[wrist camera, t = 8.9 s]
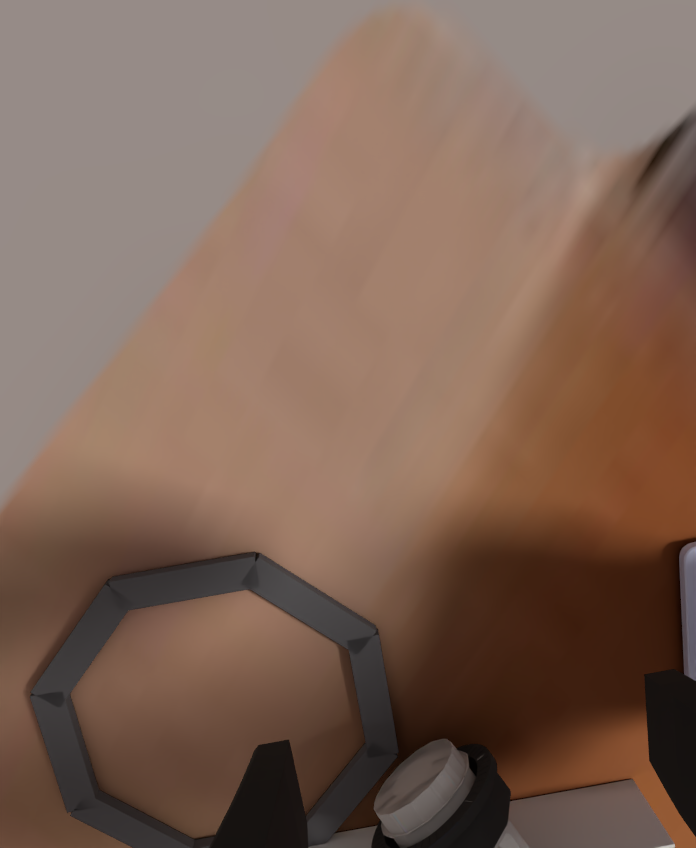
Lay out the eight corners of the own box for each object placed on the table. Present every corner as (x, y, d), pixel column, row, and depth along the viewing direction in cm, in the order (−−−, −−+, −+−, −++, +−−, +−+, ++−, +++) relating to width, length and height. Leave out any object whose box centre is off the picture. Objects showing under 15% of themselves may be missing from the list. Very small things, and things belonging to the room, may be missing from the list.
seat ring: (361, 533, 22) (362, 537, 22) (411, 825, 25) (412, 833, 25) (4, 595, 22) (-1, 601, 21) (96, 882, 25) (93, 892, 24)
